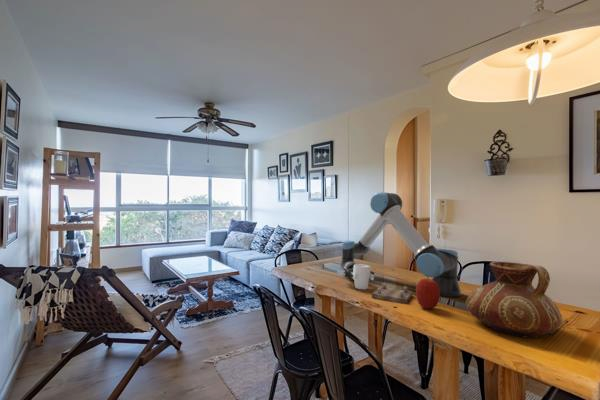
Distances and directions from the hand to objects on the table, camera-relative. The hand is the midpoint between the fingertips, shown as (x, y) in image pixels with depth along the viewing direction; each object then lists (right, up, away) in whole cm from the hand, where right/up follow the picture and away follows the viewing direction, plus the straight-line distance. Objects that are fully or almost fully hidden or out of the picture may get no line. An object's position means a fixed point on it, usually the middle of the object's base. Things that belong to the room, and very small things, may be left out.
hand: (364, 277), depth 163 cm
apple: (+22, -7, -26) cm, 35 cm away
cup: (-1, -7, +4) cm, 8 cm away
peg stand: (+12, -7, -10) cm, 17 cm away
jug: (+46, -8, -45) cm, 65 cm away
